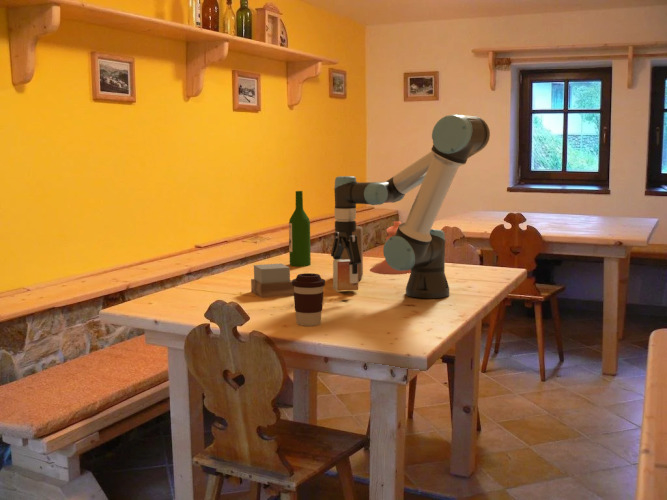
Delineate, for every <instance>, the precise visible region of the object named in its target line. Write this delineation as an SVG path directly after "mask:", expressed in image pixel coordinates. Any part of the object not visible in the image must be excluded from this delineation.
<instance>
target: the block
mask: <svg viewBox="0 0 667 500" xmlns="http://www.w3.org/2000/svg"><path fill="white" fill-rule="evenodd" d="M363 229H364V228H363V226H361V225H356V231H355V232H352V236H357V244H358V249H359V254H360V259H361V263H359V264H358V265H359V266H358V273H359V275H358V281H361V280H362V278H363V275H364V271H363V270H364V258H363V257H364V255H363V252H364V249H363V248H364V245H363V243H364V240H363V236H364V235H363V234H364V233H363ZM335 232H336V231H335V230H334V233H335ZM341 256H342V260H347V259H349V256H348V253H347V250H346V249H345V248H344V250H343V253H342V255H341Z"/></svg>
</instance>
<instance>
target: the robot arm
mask: <svg viewBox="0 0 667 500" xmlns="http://www.w3.org/2000/svg"><path fill="white" fill-rule="evenodd" d="M490 131H491V130H490V128H489V125H488V123H487V122H486V121H485V120H484V119H483V118H481V117H479V116H476V115H475V116H474V115H464V114H459V113H454V114H453V113H452V114H449V115H446V116H445V115H444V116H443V117H441V118H440V119H439V120H438V121H437V122H436V123H435V125H434V126H433V129H432V133H431V139H432V143H433V144H432V147H431V149H430V152H428V153H427V154H425V155H423V156H422V157H421V158H419V159H417V160H415V162H413V163H411V164H410V165H408V166H407V167H405V168H404V169H402V170H401V171H400V172H398V173H396V174H395V175H393V176H392V177H390V178H389V179H387V180H385V181H373V182H367V181H366V182H365V181H362V182H361V181H360V182H359V181H358V182H357V177H356V176H353V175H345V176H344V175H343V176H342V175H338V176H336V177H335V179H334V188H333V190H334V219H335V221H334V239H333V244H332V249H331V254H330V256H331V257H332V259H333V260H342V256H341V255H342V253H343V250H344V248H345V249H346V250H347V253H348V256H349V259H350V263H349V265H350V283H358V284H359V280H358V264H359V263H361V259H360V254H359V249H358V244H357V236H352V232H355V231H356V226H357V221H356V219H357V212H358V211H357V205H371V206H381V205H384V204H385V203H386V204H388V203H392V204H393V203H397V202H400V201H402V200H403V199H404V197H405V196H406V194H408V193H409V192H412V190H414V189H416V188H417V187H419V186H420V187H419V190H418V192H417V194H416V196H415V199H414V201H413V204H412V206H411V208H410V210H409V212H408V215H407V217H406V220H405V221H404V222H401V224H400V225H399V226H398V229H397V231H396V233H395V236H392V237H390V238H389V239H388V240H387V241H386V240H385V243H384V245H383V248H382V249H383V256H384V260H385V259H386V262H387V263H388V265H389V266H390V267H392V268H393V269H395V270H398V271H407V270H410V269H411V273H409V274H410V275H409V278H408V281H407V283H406V287H405V295H406V296H408V297H412V298H420V299H437V298H438V299H439V298H440V299H441V298H446V297H448V296H450V286H449V283H448V279H447V276H446V273H445V268H446V267H445V264H446V263H445V262H446V261H445V259H446V257H445V256H446V238H445V237H446V236H445V235H446V234H445V231H443V230H442V229H434V228H433V227H434V226H433V225H434V223H435V220H436V218H437V216H438V214H439V212H440V210H441V208H442V205H443V203H444V201H445V199H446V197H447V194H448V192H449V190H450V187H451V185H452V183H453V180H454V178H455V177H456V174H457V172H458V169H459V168H460V167H462V166H464V165H466V163H467V161H468V159H470V158H471V157H473V156H475V154H478V153H479V152H481V151H482V150H483V149H484V148H486V146H488V144H489V141H490V137H491V132H490ZM335 231H336V232H335Z"/></svg>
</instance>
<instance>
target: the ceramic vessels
mask: <svg viewBox="0 0 667 500" xmlns="http://www.w3.org/2000/svg"><path fill="white" fill-rule="evenodd" d="M400 224H402V222H401V221H398V220H397V221H393V225H392V226H389V227H388V228H387V229H386V234H387V235H388V236H386V237H385V242H386V241H387V240H388V239H389V238H390V237H392V236H395V233H396V231H397V229H398V226H399V225H400ZM369 271H370V272H371V273H373V274H374V273H375V274H379V275H391V276H392V275H393V276H396V275H406V274H407V273H408V274H411V269H410V270H407V271H398V270H395V269H393V268H392V267H390V266H389V265H388V263H387V262H386V259H385V258H384V260H382V261H381V262H379V263H377V264H376V265H374V266H373V267H371V268H370V269H369Z"/></svg>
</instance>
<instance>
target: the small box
mask: <svg viewBox="0 0 667 500" xmlns="http://www.w3.org/2000/svg"><path fill="white" fill-rule="evenodd" d="M349 263H350V259H347V260H334V259H333V260H332V272H333V273H332V289H333V290H336V291H337V292H340V291H359V282H358V283H350V265H349ZM358 266H359V265H358ZM358 275H359V273H358Z"/></svg>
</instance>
